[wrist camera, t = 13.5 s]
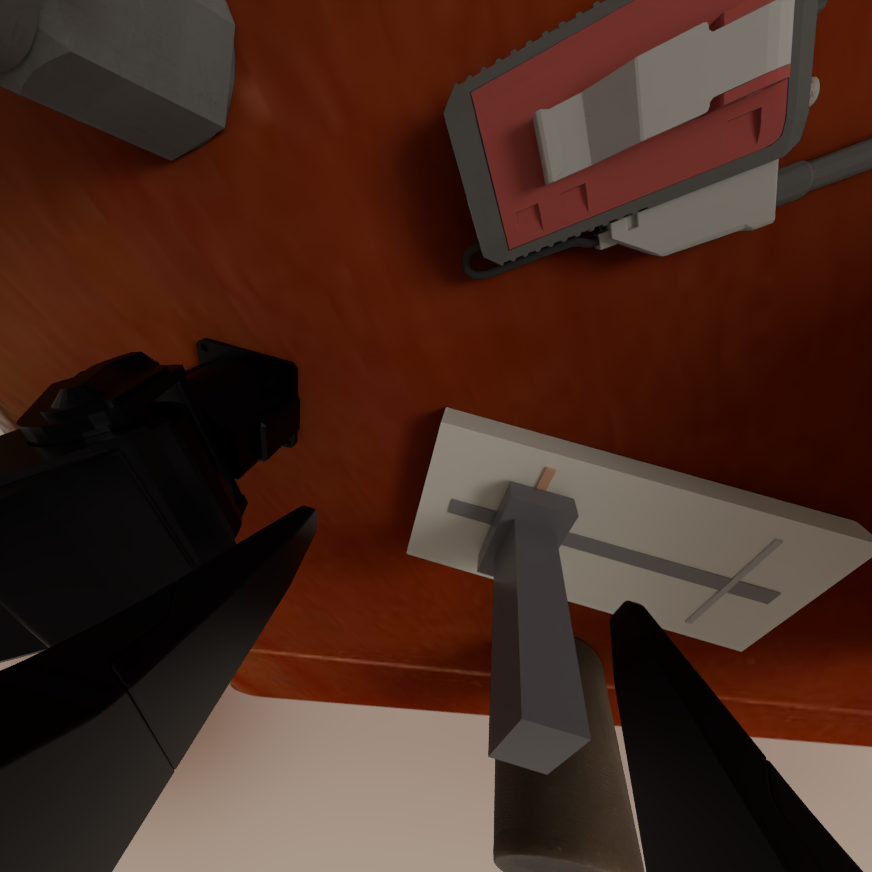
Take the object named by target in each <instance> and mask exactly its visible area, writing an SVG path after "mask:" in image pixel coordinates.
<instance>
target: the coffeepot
mask: <svg viewBox="0 0 872 872" xmlns="http://www.w3.org/2000/svg"><path fill="white" fill-rule="evenodd" d="M234 33H235V23H234V21H233V18H232V15H231V13H230V10H229V7H228V4H227V2H226V0H0V86H2V87H4V88H6V89H8V90H10V91H12V92H14V93H16V94H18V95H21V96H23V97H25V98H28V99H30V100H32V101H34V102H37V103H39V104H41V105H44V106H46V107H48V108H51V109H53V110H55V111H57V112H60V113H62V114H64V115H67V116H69V117H71V118H74V119H76V120H78V121H80V122H83V123H85V124H87V125H90V126H92V127H94V128H97V129H99V130H101V131H103V132H106V133H108V134H110V135H113V136H115V137H117V138H120V139H122V140H124V141H126V142H129V143H131V144H133V145H136V146H138V147H140V148H143V149H145V150H147V151H149V152H152V153H154V154H156V155H159V156H161V157H163V158H166V159H168V160H170V161H172V160H174V159H176V158H178V157H180V156H182V155H183V154H185V153H187V152H189V151H191V150H194V149H196V148H199V147H201V146H203V145H204V144H205V143H206V142H208V141H209V140H210V139H211V138H212V137H213V136H214V135H215V134H216V133H218V132H219V131H221V130H223V129H224V128H225V126H226V121H227V117H228V112H229V108H230V103H231V97H232V92H233V87H234V77H235V51H234Z"/></svg>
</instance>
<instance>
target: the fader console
mask: <svg viewBox="0 0 872 872" xmlns="http://www.w3.org/2000/svg"><path fill="white" fill-rule="evenodd" d="M510 481H513V482H516V483H520V484H523V485H527V486H530V487H534V488H537V489H541V490H544V491H548V492H551V493H555V494H559V495H562V496H566V497H569V498H573V499H574V500H575V504H576V507H577V511H578V515H579V517H578V518H577V520H576V522H575V523H574V525H573V526H572V528H571V530H570V531H569V533H568V534H567V536H566V538H565V539H564V541H563V543H562V544H561V546H560V547H559V554H560V560H561V566H562V571H563V577H564V583H565V589H566V595H567V601H569V602H573V603H576V604H580V605H583V606H586V607H590V608H593V609H597V610H600V611H604V612H607V613H610V614H614V612H615V611H616V610H617V609H618V608H619V607H620V606H621V605H622V603H623V602H625V601H627V600H628V601H632V602H636V603H639V604H641V605H643V606H644V607H645V608H646V609H647V611H648V612H649V613H650V614H651V616H652V617H653V618H654V619H655V620H656V622H657V623H658V624H659V625H660V627H661V628H662V629H665V630H669V631H672V632H675V633H679V634H682V635H686V636H689V637H693V638H696V639H699V640H703V641H706V642H710V643H713V644H716V645H720V646H723V647H727V648H730V649H734V650H737V651H740V652H742V651H743V650H745V649H746V648H747V647H749V646H750V645H751V644H753V643H754V642H756V641H757V640H758V639H760V638H761V637H763V636H764V635H765V634H767V633H768V632H769V631H771V630H772V629H774V628H775V627H776V626H778V625H779V624H780V623H782V622H783V621H785V620H786V619H787V618H789V617H790V616H792V615H793V614H794V613H796V612H797V611H798V610H800V609H801V608H803V607H804V606H805V605H807V604H808V603H809V602H811V601H812V600H814V599H815V598H816V597H818V596H819V595H820V594H822V593H823V592H825V591H826V590H827V589H829V588H830V587H832V586H833V585H834V584H836V583H837V582H838V581H840V580H841V579H843V578H844V577H845V576H847V575H848V574H849V573H851V572H852V571H854V570H855V569H856V568H858V567H859V566H861V565H862V564H863V563H865V562H866V561H867V560H869V559H870V558H872V534H871V533H870V532H868V531H867V530H866V529H865V528H864V527H862V526H861V525H860V524H859V523H858V522H856V521H853V520H850V519H846V518H842V517H839V516H835V515H832V514H828V513H824V512H821V511H817V510H814V509H810V508H807V507H803V506H799V505H796V504H792V503H789V502H785V501H781V500H778V499H774V498H771V497H767V496H763V495H760V494H756V493H753V492H749V491H746V490H742V489H738V488H735V487H731V486H728V485H724V484H720V483H717V482H713V481H710V480H706V479H702V478H699V477H695V476H692V475H688V474H685V473H681V472H677V471H674V470H670V469H667V468H663V467H659V466H656V465H652V464H649V463H645V462H641V461H638V460H634V459H631V458H627V457H624V456H620V455H616V454H613V453H609V452H606V451H602V450H598V449H595V448H591V447H588V446H584V445H580V444H577V443H573V442H570V441H566V440H563V439H559V438H555V437H552V436H548V435H545V434H541V433H537V432H534V431H530V430H527V429H523V428H520V427H516V426H512V425H509V424H505V423H502V422H498V421H494V420H491V419H487V418H484V417H480V416H476V415H473V414H469V413H466V412H462V411H459V410H455V409H451V408H448V407H446V409H445V412H444V415H443V418H442V421H441V424H440V428H439V432H438V436H437V439H436V443H435V447H434V451H433V454H432V458H431V462H430V466H429V470H428V473H427V477H426V481H425V485H424V488H423V492H422V496H421V500H420V504H419V507H418V511H417V515H416V519H415V522H414V526H413V530H412V534H411V538H410V541H409V545H408V549H407V553H406V554H409V555H412V556H415V557H419V558H422V559H426V560H429V561H432V562H436V563H439V564H443V565H446V566H450V567H453V568H456V569H460V570H463V571H467V572H470V573H474V574H477V575H480V576H484V577H487V578H491V579H494V577H493V576H489V575H486V574H483V573H479V572H477V565H478V554H479V552H480V550H481V547H482V545H483V543H484V540H485V538H486V536H487V533H488V531H489V529H490V527H491V524H492V522H493V520H494V517H495V515H496V513H497V511H498V508H499V506H500V504H501V501H502V499H503V497H504V495H505V492H506V490H507V488H508V485H509V483H510Z"/></svg>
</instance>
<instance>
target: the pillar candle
mask: <svg viewBox="0 0 872 872" xmlns="http://www.w3.org/2000/svg"><path fill="white" fill-rule="evenodd" d="M574 642H575V648H576V654H577V660H578V666H579V672H580V678H581V684H582V689H583V695H584V701H585V707H586V713H587V719H588V725H589V731H590V737H591V740H590V741H589V742H588V743H586V744H585V745H584V746H583V747H581V748H580V749H579V750H578V751H576V752H575V753H574V754H573V755H571V756H570V757H569V758H568V759H566V760H565V761H564V762H563V763H561V764H560V765H559V766H558V767H556V768H555V769H554V770H552V771H551V772H550V773H549V774H547V775H546V774H543V773H540V772H537V771H533V770H530V769H527V768H523V767H520V766H517V765H514V764H510V763H507V762H504V761H501V760H497V759H495V801H494V805H495V807H494V849H493V854H494V863H495V864H496V866H497V867H498V868H499V869H501V870H502V871H503V872H644V868H643V862H642V857H641V853H640V849H639V844H638V838H637V834H636V829H635V824H634V819H633V814H632V810H631V805H630V800H629V795H628V790H627V785H626V780H625V775H624V771H623V766H622V761H621V757H620V752H619V746H618V741H617V737H616V732H615V727H614V722H613V717H612V712H611V707H610V702H609V698H608V691H607V687H606V682H605V676H604V670H603V666H602V663H601V661H600V659H599V657H598V656H597V654H596V653H595V651H594V650H593V649H592V648H591V647H590V646H588V645H587V644H586V643H584V642H582V641H581V640H579V639H576V638H574Z"/></svg>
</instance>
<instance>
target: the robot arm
mask: <svg viewBox="0 0 872 872" xmlns="http://www.w3.org/2000/svg"><path fill="white" fill-rule="evenodd" d="M206 345H207V347H208V349H207V347H206ZM197 348H198V354H199V361H200V365H198V366H196V367H193V368H191V369H189V370H187V371H185V370H184V367H183V365H159V363H158V362H155V361H154V360H153V359H151V358H150V357H148V356H147V355H145V354H144V353H143V352H130V353H127V354H124V355H121V356H118V357H115V358H112V359H109V360H106V361H103V362H101V363H98V364H96V365H94V366H92V367H90V368H88V369H87V370H85V371H82V372H80V373H78V374H77V375H76V376H75V377H73V378H70V379H66V380H63V381H59V382H56V383H53V384H51V385H50V386H49V387H48V388H47V389H46V390H45V392H44V393H43V394H42V395H41V396H40V397H39V398H38V399H37V400H36V401H35V402H34V403H33V405H32V406H31V407H30V408H29V409H28V410H27V411H26V412H25V413H24V414H23V415H22V416H21V417H20V419H19V420H18V421H17V423H16V425H17V426H18V427H19V428H20V429H18V430H15V431H12V432H9V433H6V434H4V435H1V436H0V663H1V662H5V661H9V660H12V659H16V658H20V657H23V656H27V655H31V654H35V653H38V654H36V655H34V656H32V657H30V658H28V659H26V660H24V661H22V662H19V663H17V664H15V665H13V666H10V667H8V668H6V669H3V670H1V671H0V872H112V871H113V869H114V868H115V866H116V865H117V863H118V861H119V860H120V858H121V856H122V855H123V853H124V852H125V850H126V848H127V847H128V845H129V843H130V842H131V840H132V839H133V837H134V835H135V834H136V832H137V831H138V829H139V828H140V826H141V824H142V823H143V821H144V820H145V818H146V816H147V815H148V813H149V812H150V810H151V808H152V807H153V805H154V804H155V802H156V800H157V799H158V797H159V795H160V794H161V792H162V791H163V789H164V787H165V786H166V784H167V783H168V781H169V779H170V778H171V776H172V775H173V773H174V769H176V768H177V766H178V765H179V763H180V761H181V760H182V758H183V757H184V755H185V753H186V752H187V750H188V749H189V747H190V745H191V744H192V742H193V740H194V739H195V737H196V736H197V734H198V732H199V731H200V729H201V728H202V726H203V724H204V723H205V721H206V720H207V718H208V716H209V715H210V713H211V712H212V710H213V708H214V707H215V705H216V704H217V702H218V701H219V699H220V697H221V696H222V694H223V693H224V691H225V689H226V688H227V686H228V685H229V683H230V681H231V680H232V678H233V677H234V675H235V673H236V672H237V670H238V668H239V667H240V665H241V664H242V662H243V660H244V659H245V657H246V656H247V654H248V652H249V651H250V649H251V648H252V646H253V644H254V643H255V641H256V640H257V638H258V636H259V635H260V633H261V632H262V630H263V628H264V627H265V625H266V624H267V622H268V620H269V619H270V617H271V616H272V614H273V612H274V611H275V609H276V608H277V606H278V604H279V603H280V601H281V600H282V598H283V596H284V595H285V593H286V591H287V590H288V588H289V586H290V584H291V583H292V581H293V579H294V577H295V574H296V572H297V570H298V568H299V566H300V564H301V562H302V560H303V558H304V556H305V554H306V552H307V550H308V548H309V545H310V543H311V541H312V539H313V537H314V535H315V532H316V523H317V511H316V509H314V508H311V507H307V506H301V507H299V508H297V509H295V510H294V511H292V512H290V513H289V514H287V515H285V516H284V517H282V518H280V519H279V520H277V521H275V522H274V523H272V524H270V525H268V526H267V527H265V528H263V529H262V530H260V531H258V532H257V533H255V534H253V535H252V536H250V537H248V538H247V539H245V540H243V541H242V542H240V543H238V544H236V542H235V538H236V536H237V534H238V532H239V529H240V527H241V525H242V518H241V517H242V515H243V513H244V510H245V508H246V506H247V504H248V502H247V500H246V498H245V496H244V495H242V494H241V492H240V489H239V487H238V485H237V483H236V481H235V479H239V478H241V477H242V476H243V475H244V474H245V473H246V472H247V471H248V470H249V469H250V468H251V467H252V466H253V465H255V464H256V463H257V462H258V461H259V460H260V461H263V462H264V461H266V460H268V459H269V458H270V457H271V456H272V455H273V454H274V453H275V452H276V451H277V450H278V449H279V448H280V447H281V446H285V447H289V448H291V447H293V446H294V445H295V444H296V443H297V431H298V430H299V428H300V398H299V396H298V369H297V367H296V365H295V364H294V363H293V362H290V361H287V360H283V359H280V358H276V357H273V356H269V355H265V354H262V353H258V352H255V351H251V350H247V349H244V348H240V347H237V346H233V345H230V344H226V343H222V342H219V341H215V340H212V339H208V338H205V339H202V340H200V341H198V343H197ZM286 367H288V368H289V369H290V370H291V372H289V371H288V370H287V368H286ZM289 440H290V441H291V442H290V441H289ZM234 478H235V479H234ZM610 631H611V646H612V660H613V674H614V683H615V690H616V696H617V702H618V708H619V714H620V720H621V725H622V731H623V736H624V743H625V749H626V754H627V761H628V767H629V772H630V778H631V784H632V789H633V796H634V801H635V808H636V813H637V819H638V825H639V831H640V837H641V843H642V849H643V855H644V861H645V866H646V872H863V871H862V870H861V869H860V868H859V867H858V865H857V864H856V863H855V862H854V861H853V860H852V859H851V857H850V856H849V855H848V854H847V853H846V852H845V851H844V850H843V848H842V847H841V846H840V845H839V844H838V843H837V841H836V840H835V839H834V838H833V837H832V836H831V835H830V833H829V832H828V831H827V830H826V829H825V828H824V826H823V825H822V824H821V823H820V822H819V821H818V819H817V818H816V817H815V816H814V815H813V814H812V813H811V811H810V810H809V809H808V808H807V806H806V805H805V804H804V803H803V802H802V800H801V799H800V798H799V797H798V796H797V794H796V793H795V792H794V791H793V790H792V788H791V787H790V786H789V785H788V784H787V782H786V781H785V780H784V779H783V777H782V776H781V775H780V774H779V773H778V771H777V770H776V769H775V768H774V766H773V765H772V764H771V763H770V761H768V760H766V757H765V755H764V754H763V753H762V752H761V750H760V749H759V748H758V747H757V745H756V744H755V743H754V742H753V740H752V739H751V738H750V737H749V736H748V734H747V733H746V732H745V731H744V729H743V728H742V727H741V726H740V724H739V723H738V722H737V721H736V719H735V718H734V717H733V716H732V714H731V713H730V712H729V711H728V710H727V708H726V707H725V706H724V705H723V703H722V702H721V701H720V700H719V698H718V697H717V696H716V695H715V693H714V692H713V691H712V690H711V689H710V687H709V686H708V685H707V684H706V682H705V681H704V680H703V679H702V677H701V676H700V675H699V674H698V672H697V671H696V670H695V669H694V667H693V666H692V665H691V664H690V663H689V661H688V660H687V659H686V658H685V656H684V655H683V654H682V653H681V651H680V650H679V649H678V648H677V646H676V645H675V644H674V643H673V642H672V640H671V639H670V638H669V637H668V635H667V634H666V633H665V632H664V630H663V629H662V628H661V627H660V625H659V624H658V623H657V622H656V620H655V619H654V618H653V617H652V616H651V614H650V613H649V612H648V611H647V609H646V608H645V607H644V606H643V605H641V604H639V603H636V602H632V601H628V600H627V601H625V602H623V603H622V605H621V606H620V607H619V608H618V609H617V610H616V611H615V612H614V614H613V615H612V617H611V620H610ZM39 652H40V653H39Z"/></svg>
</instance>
